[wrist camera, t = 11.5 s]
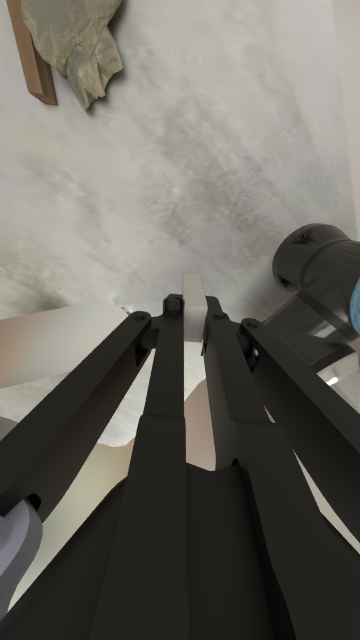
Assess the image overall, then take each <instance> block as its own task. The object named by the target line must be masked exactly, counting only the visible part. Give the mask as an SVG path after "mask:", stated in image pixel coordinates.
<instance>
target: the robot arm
mask: <svg viewBox="0 0 360 640" xmlns="http://www.w3.org/2000/svg"><path fill="white" fill-rule="evenodd" d="M273 274H274V277H275V279H276V281H277V282H278V283H279V284H280V285H281V286H283V287H284V288H286V289H287V290H290V291H293V292H298V293H297V294H296V295H295V296H294V297H292V298H291V299H290V300H289V301H288V302H287V303H285V304H284V305H283V306H282V307H281V308H280V309H278V310H277V311H276V312H275V313H274V314H272V315H271V316H270V317H269V318H268V319H266V320H265V321H263V322H262V323H261V322H260V321H258V320H256V319H253V318H245V319H243V320H242V321H241V323H236V322H233V321H230V319H229V316H228V315H227V314H225V313H224V312H223V311H222V309H221V306H220V303H219V300H218V299H217V298H216V297H213V296H205V293H204V289H203V285H202V280H201V276H200V274H194V273H184V275H183V287H182V295H179V294H170V295H168V296H167V298H165V299H164V300H163V314H162V315H160V316H157V317H151V315H150V314H149V313H148V312H144V311H136V312H133V313H131V314H130V315H129V316H128V317H127V318H126V319H125V320H124V321H123V322H122V323H121V324H120V325H119V326H118V327H117V328H116V329H115V330H114V331H112V332H111V333H110V334H109V335H108V336H107V337H106V338H105V339H104V340H103V341H102V342H101V343H100V344H99V345H98V346H97V347H96V348H95V349H94V350H93V351H92V352H91V353H90V354H89V355H88V356H87V357H86V358H85V359H84V360H83V361H82V362H81V363H80V364H79V365H78V366H77V367H76V368H75V369H74V370H73V371H72V372H71V373H69V374H68V375H67V376H66V377H65V378H64V379H63V380H62V381H61V382H60V383H59V384H58V385H57V386H56V387H55V388H54V389H53V390H52V391H51V392H50V393H49V394H48V395H47V396H46V397H45V398H44V399H43V400H42V401H41V402H40V403H39V404H38V405H37V406H36V407H35V408H34V409H33V410H32V411H31V412H30V413H29V414H28V415H26V416H25V417H24V418H23V419H22V420H21V421H20V422H19V423H18V424H17V426H15V427H14V428H13V429H12V430H11V431H10V432H9V433H8V434H7V435H6V436H5V437H4V438H3V439H2V440H1V441H0V640H360V554H359V553H358V552H357V551H356V550H355V549H354V548H353V547H352V545H351V544H350V543H349V542H348V541H347V540H346V539H345V538H344V537H343V536H342V535H341V534H340V532H339V531H338V530H336V528H335V527H334V526H333V525H332V524H331V523H330V522H329V521H328V520H327V519H326V517H325V516H324V515H323V514H322V513H321V512H320V510H319V508H318V505H317V503H316V501H315V499H314V496H313V494H312V492H311V490H310V487H309V485H308V483H307V481H306V478H305V476H304V474H303V472H302V469H301V467H300V465H299V463H298V460H297V458H296V456H295V454H294V452H295V453H296V455H297V456H298V458H299V459H300V461H301V462H302V464H303V466H304V467H305V469H306V470H307V472H308V473H309V474H310V476H311V478H312V479H313V481H314V482H315V484H316V486H317V487H318V489H319V490H320V492H321V493H322V495H323V496H324V497H325V499H326V500H327V502H328V503H329V505H330V506H331V507H332V509H333V510H334V512H335V513H336V514H337V516H338V517H339V518H340V519H341V520H342V522H343V523H344V524H345V526H346V527H347V528H348V530H349V531H350V532H351V533H352V534H353V536H354V537H355V538H356V539H357V540H358V541H359V543H360V368H359V366H358V353H357V352H356V351H355V350H354V349H352V348H351V347H350V346H349V343H350V342H352V341H354V340H355V339H357V338H358V337H360V242H357V241H352V240H350V239H349V238H348V237H347V236H346V235H345V234H344V233H343V232H342V231H341V230H340V229H338V228H337V227H334V226H332V225H327V224H310V225H307V226H304V227H302V228H300V229H298V230H296V231H295V232H293V233H292V234H291V235H290V236H288V237H287V238H286V239H285V240H284V242H283V243H282V244H281V246H280V247H279V249H278V250H277V252H276V254H275V257H274V261H273ZM202 339H203V347H202V352H201V356H204V364H205V372H206V380H207V388H208V396H209V404H210V412H211V420H212V428H213V436H214V444H215V453H216V466H215V471H208V470H205V469H202V468H200V467H197V466H195V465H192V464H189V463H186V428H185V427H186V426H185V418H184V341H187V342H202ZM154 348H156V350H155V356H154V361H153V366H152V371H151V376H150V381H149V386H148V391H147V396H146V402H145V407H144V411H143V415H141V416H140V419H139V423H138V427H137V432H136V437H135V442H134V446H133V451H132V456H131V461H130V465H129V470H128V475H127V477H125V478H124V479H123V480H122V481H120V482H119V483H118V484H117V485H116V486H115V487H114V488H113V489H112V490H111V491H110V492H109V493H108V494H107V495H106V496H105V497H104V499H103V500H102V501H101V502H100V503H99V505H98V506H97V507H96V508H95V510H94V511H93V512H92V513H91V514H90V515H89V517H88V518H87V519H86V520H85V521H84V522H83V524H82V525H81V526H80V527H79V528H78V530H77V531H76V532H75V533H74V534H73V536H72V537H71V538H70V539H69V540H68V542H67V543H66V544H65V545H64V546H63V547H62V549H61V550H60V551H59V552H58V553H57V555H56V556H55V557H54V558H53V559H52V561H51V562H50V563H49V564H48V565H47V567H46V568H45V569H44V570H43V571H42V573H41V574H40V575H39V576H38V577H37V579H36V580H35V581H34V582H33V583H32V584H31V586H30V587H29V588H28V589H27V590H26V592H25V593H24V594H23V595H22V596H21V597H20V599H19V600H18V601H17V602H16V603H15V605H14V606H13V607H12V608H11V609H10V611H9V612H8V613H7V611H8V607H9V604H10V600H11V598H12V596H13V594H14V592H15V590H16V587H17V585H18V583H19V582H20V580H21V578H22V577H23V575H24V574H25V572H26V571H27V569H28V568H29V566H30V564H31V563H32V561H33V560H34V558H35V556H36V553H37V551H38V549H39V547H40V543H41V539H42V530H43V526H42V523H43V522H44V521H45V520H46V518H47V517H48V516H49V515H50V513H51V512H52V511H53V509H54V508H55V507H56V506H57V504H58V503H59V501H60V500H61V499H62V498H63V496H64V495H65V493H66V491H67V490H68V488H69V487H70V485H71V484H72V482H73V481H74V479H75V477H76V476H77V474H78V472H79V471H80V469H81V467H82V466H83V464H84V463H85V461H86V459H87V457H88V456H89V454H90V453H91V451H92V449H93V448H94V446H95V444H96V443H97V441H98V439H99V438H100V436H101V434H102V433H103V431H104V429H105V428H106V426H107V424H108V423H109V421H110V419H111V418H112V416H113V414H114V413H115V411H116V409H117V408H118V406H119V404H120V403H121V401H122V400H123V398H124V396H125V395H126V393H127V391H128V390H129V388H130V386H131V385H132V383H133V381H134V380H135V378H136V376H137V375H138V373H139V371H140V370H141V368H142V366H143V365H144V363H145V361H146V360H147V358H148V356H149V355H150V353H151V350H152V349H154ZM263 404H264V405H263ZM264 406H265V407H266V409H267V410H268V411H269V413H270V415H271V416H272V418H273V420H274V421H275V423H272V422H271V421H270V419H269V417H268V415H267V412H266V410H265V407H264ZM293 450H294V451H293Z"/></svg>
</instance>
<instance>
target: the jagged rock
mask: <svg viewBox="0 0 360 640" xmlns="http://www.w3.org/2000/svg"><path fill="white" fill-rule="evenodd" d="M121 2H122V0H22V5H21V10H22V15H23V20H24V24H25V26H26V27H27V28H28V29H29V31H30V32H31V35H32V38H33V42H34V45H35V48H36V49H37V51H38V52H39V54H40V55H41V57H42V58H43V59H44V60H45V61H46V62H47V63H49V64H50V65H51V66H53V67H54V68H55V69H57V71H58V72H59V73H60V75H61V76H62V77H63V78H64V79H67V77H68V80H69V82H70V85H71V87H72V89H73V92H74V93H75V95H76V97H77V99H78V101H79V102H80V104H81V106H82V107H83V108H84V110H85V112H86V113H87V108H88V107H89V106H90V103H92V102H93V101H94V100H95V99H97V98H98V96H100V97H103V96H105V95H106V94H105V87H106V84H107V82H108V80H109V78H111V76H112V75H113V74H114V73H116V72H119V71H120V70H122V69H123V65H122V60H121V58H120V55H119V52H118V49H117V45H116V42H115V40H114V38H113V36H112V34H111V32H110V30H109V29H108V26H107V24H108V22H109V21H110V20H111V19H112V17H113V15H114V14H115V12H116V10H117V8H118V7H119V6H120V4H121Z"/></svg>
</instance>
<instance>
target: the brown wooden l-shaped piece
mask: <svg viewBox="0 0 360 640" xmlns="http://www.w3.org/2000/svg"><path fill="white" fill-rule="evenodd" d="M6 1H7V6H8V10H9V14H10V18H11V22H12V26H13V30H14V35H15V39H16V43H17V47H18V51H19V55H20V59H21V64H22V68H23V72H24V76H25V80H26V84H27V88H28V92H29V93H30V94H32V95H33V96H35V97H36V98H37V99H39V100H40V101H41V102H43V103H44V104H48V105H56V106H58V104H57V99H56V94H55V88H54V83H53V78H52V72H51V67H50V64H49V63H47V62H46V61H45V60H44V59H43V58H42V57H41V55H40V54H39V52H38V51H37V49H36V48H35V45H34V42H33V38H32V35H31V32H30V31H29V29H28V28H27V27H26V26H25V24H24V20H23V15H22V10H21V5H22V0H6Z"/></svg>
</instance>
